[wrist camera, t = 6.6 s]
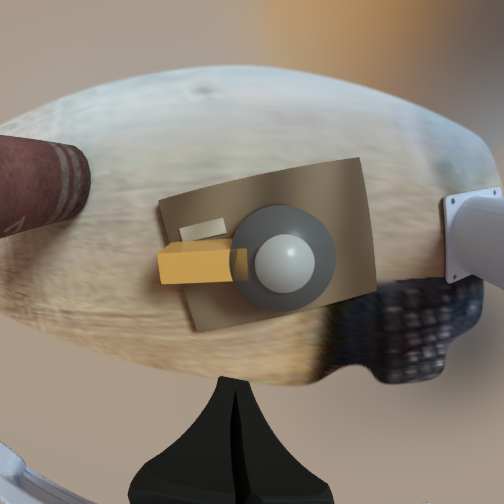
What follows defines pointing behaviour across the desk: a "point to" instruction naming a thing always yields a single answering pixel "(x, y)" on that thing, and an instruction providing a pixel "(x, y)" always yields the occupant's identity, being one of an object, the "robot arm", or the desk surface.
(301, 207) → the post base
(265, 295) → the toy saucepan
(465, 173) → the desk surface
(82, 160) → the can
